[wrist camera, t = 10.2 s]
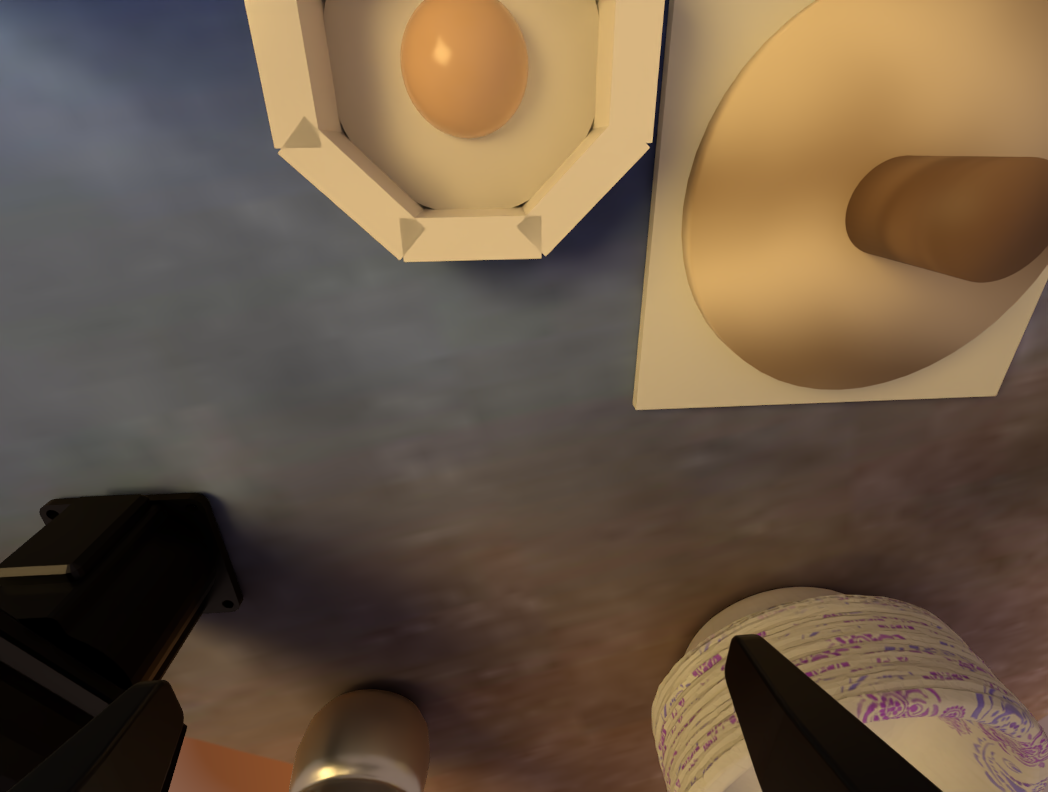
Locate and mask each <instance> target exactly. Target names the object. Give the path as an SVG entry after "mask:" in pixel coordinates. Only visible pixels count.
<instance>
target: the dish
mask: <svg viewBox="0 0 1048 792" xmlns="http://www.w3.org/2000/svg"><path fill="white" fill-rule="evenodd" d="M244 2H245V7H246V12H247V17H248V22H249V26H250V31H251V36H252V41H253V46H254V51H255V55H256V60H257V65H258V70H259V75H260V80H261V84H262V89H263V94H264V99H265V104H266V109H267V113H268V118H269V123H270V128H271V133H272V138H273V142H274V147H275V148H281V150H280V151H279V152H278V154H279V155H280V156H281V157H282V158H283V159H285V160H286V161H287V162H288V163H289V164H290V165H291V166H293V167H294V168H295V169H296V170H297V171H298V172H299V173H301V174H302V175H303V176H304V177H305V178H306V179H307V180H309V181H310V182H311V183H312V184H313V185H314V186H315V187H317V188H318V189H319V190H320V191H321V192H322V193H323V194H325V195H326V196H327V197H328V198H329V199H330V200H331V201H333V202H334V203H335V204H336V205H337V206H338V207H339V208H341V209H342V210H343V211H344V212H345V213H346V214H347V215H349V216H350V217H351V218H352V219H353V220H354V221H355V222H357V223H358V224H359V225H360V226H361V227H362V228H363V229H364V230H366V231H367V232H368V233H369V234H370V235H371V236H372V237H374V238H375V239H376V240H377V241H378V242H379V243H380V244H382V245H383V246H384V247H385V248H386V249H387V250H388V251H390V252H391V253H392V254H393V255H394V256H395V257H396V258H398V259H399V260H400V259H401V258H402V257H404V262H423V261H463V260H503V259H541V253H542V254H543V255H544V256H545V257H546V256H547V255H548V254H549V253H550V252H551V251H552V249H553V248H554V247H555V246H556V245H557V244H558V243H559V242H560V241H561V240H562V239H563V238H564V237H565V236H566V235H567V234H568V233H569V232H570V231H571V230H572V229H573V228H574V227H575V226H576V224H577V223H578V222H579V221H580V220H581V219H582V218H583V217H584V216H585V215H586V214H587V213H588V212H589V211H590V210H591V209H592V208H593V207H594V206H595V205H596V204H597V203H598V202H599V200H600V199H601V198H602V197H603V196H604V195H605V194H606V193H607V192H608V191H609V190H610V189H611V188H612V187H613V186H614V185H615V184H616V183H617V182H618V181H619V180H620V179H621V178H622V177H623V175H624V174H625V173H626V172H627V171H628V170H629V169H630V168H631V167H632V166H633V165H634V164H635V163H636V162H637V161H638V160H639V159H640V158H641V157H642V156H643V155H644V154H645V153H646V152H647V150H648V149H649V148H650V147H649V146H648V145H647V143H652V140H653V129H654V118H655V106H656V95H657V83H658V72H659V61H660V49H661V38H662V26H663V15H664V4H665V0H244ZM522 203H523V204H522ZM520 204H522V205H520Z"/></svg>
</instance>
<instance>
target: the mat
mask: <svg viewBox="0 0 1048 792" xmlns="http://www.w3.org/2000/svg"><path fill="white" fill-rule="evenodd" d="M814 1H815V0H669V10H668V21H667V32H666V43H665V54H664V65H663V76H662V87H661V98H660V109H659V120H658V131H657V142H656V153H655V164H654V175H653V186H652V197H651V208H650V219H649V230H648V241H647V252H646V263H645V274H644V285H643V296H642V307H641V318H640V329H639V340H638V351H637V362H636V373H635V384H634V395H633V406H634V408H635V409H636V410H648V409H674V408H700V407H726V406H751V405H777V404H803V403H828V402H854V401H880V400H906V399H931V398H957V397H983V396H996V395H997V393H998V390H999V388H1000V386H1001V384H1002V381H1003V379H1004V377H1005V374H1006V372H1007V370H1008V368H1009V365H1010V363H1011V361H1012V359H1013V356H1014V354H1015V352H1016V350H1017V347H1018V345H1019V343H1020V341H1021V338H1022V336H1023V334H1024V331H1025V329H1026V327H1027V325H1028V322H1029V320H1030V318H1031V316H1032V313H1033V311H1034V309H1035V307H1036V304H1037V302H1038V300H1039V298H1040V295H1041V293H1042V291H1043V288H1044V286H1045V284H1046V282H1047V279H1048V265H1047V266H1046V267H1045V269H1044V270H1043V271H1042V273H1041V274H1040V275H1039V277H1038V278H1037V279H1036V281H1035V282H1034V283H1033V284H1032V285H1031V286H1030V287H1029V288H1028V290H1027V291H1026V292H1025V293H1024V294H1023V295H1022V296H1021V297H1020V299H1019V300H1018V301H1017V302H1016V303H1015V304H1014V305H1013V306H1012V307H1011V308H1009V309H1008V310H1007V311H1006V312H1005V313H1004V314H1003V315H1002V316H1001V317H1000V318H999V319H998V320H997V321H996V322H994V323H993V324H992V325H991V326H989V327H988V328H987V329H986V330H984V331H983V332H982V333H981V334H980V335H978V336H977V337H976V338H974V339H973V340H971V341H970V342H968V343H967V344H965V345H964V346H963V347H961V348H960V349H958V350H957V351H955V352H954V353H952V354H950V355H948V356H946V357H945V358H943V359H941V360H939V361H937V362H936V363H934V364H932V365H930V366H928V367H925V368H923V369H921V370H919V371H916V372H914V373H912V374H909V375H907V376H904V377H901V378H898V379H895V380H892V381H889V382H885V383H881V384H877V385H872V386H867V387H862V388H853V389H843V390H827V389H813V388H807V387H800V386H796V385H792V384H789V383H786V382H782V381H779V380H777V379H775V378H772V377H770V376H768V375H766V374H764V373H762V372H760V371H758V370H757V369H755V368H754V367H753V366H751V365H750V364H748V363H747V362H745V361H744V360H742V359H741V358H740V357H739V356H738V355H736V354H735V353H734V352H733V351H732V350H731V349H730V348H729V347H727V346H726V345H725V344H724V343H723V342H722V341H721V340H720V339H719V338H718V337H717V336H716V334H715V333H714V332H713V330H712V329H711V328H710V327H709V325H708V324H707V323H706V321H705V320H704V318H703V316H702V314H701V312H700V310H699V309H698V307H697V305H696V303H695V300H694V298H693V295H692V292H691V289H690V287H689V284H688V280H687V275H686V271H685V266H684V261H683V250H682V236H681V233H682V215H683V205H684V199H685V194H686V188H687V182H688V178H689V175H690V172H691V168H692V165H693V161H694V158H695V155H696V152H697V149H698V147H699V144H700V142H701V140H702V137H703V135H704V133H705V130H706V128H707V125H708V123H709V121H710V119H711V118H712V116H713V114H714V112H715V110H716V109H717V107H718V105H719V103H720V101H721V100H722V98H723V96H724V94H725V93H726V91H727V90H728V89H729V87H730V86H731V84H732V83H733V81H734V80H735V78H736V77H737V76H738V74H739V73H740V71H741V70H742V68H743V67H744V66H745V65H746V64H747V62H748V61H749V60H750V59H751V58H752V57H753V56H754V54H755V53H756V52H757V51H758V50H759V49H760V48H761V46H762V45H763V44H764V43H765V42H766V41H767V40H768V39H769V38H770V37H771V36H772V35H773V34H774V33H775V32H777V31H778V30H779V29H780V28H781V27H782V26H783V25H784V24H785V23H786V22H787V21H788V20H789V19H791V18H792V17H793V16H795V15H796V14H797V13H799V12H800V11H801V10H803V9H804V8H805V7H807V6H808V5H809V4H811V3H812V2H814Z"/></svg>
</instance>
